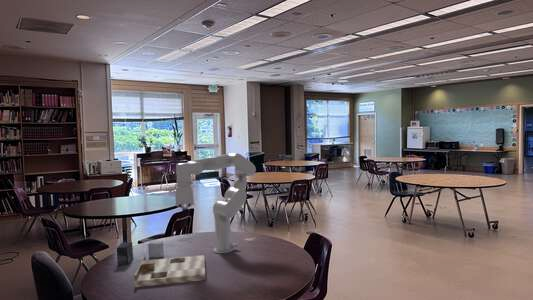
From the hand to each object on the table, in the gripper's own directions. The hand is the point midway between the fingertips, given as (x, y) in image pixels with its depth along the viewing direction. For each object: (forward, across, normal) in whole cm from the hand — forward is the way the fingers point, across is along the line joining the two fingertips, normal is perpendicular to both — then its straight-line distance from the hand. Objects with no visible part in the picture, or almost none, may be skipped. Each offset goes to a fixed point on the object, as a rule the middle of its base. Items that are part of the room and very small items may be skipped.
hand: (185, 215), depth 213 cm
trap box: (+26, +8, +18) cm, 33 cm away
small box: (+27, +36, -7) cm, 46 cm away
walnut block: (+23, +20, +18) cm, 36 cm away
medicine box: (+27, +19, -12) cm, 35 cm away
